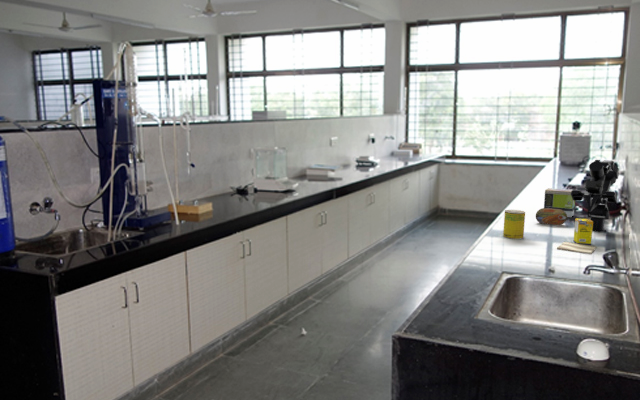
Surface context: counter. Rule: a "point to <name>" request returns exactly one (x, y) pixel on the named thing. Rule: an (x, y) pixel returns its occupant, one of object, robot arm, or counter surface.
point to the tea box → (559, 200)
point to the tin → (551, 216)
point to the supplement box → (583, 231)
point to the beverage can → (514, 224)
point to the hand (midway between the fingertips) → (589, 211)
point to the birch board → (577, 247)
